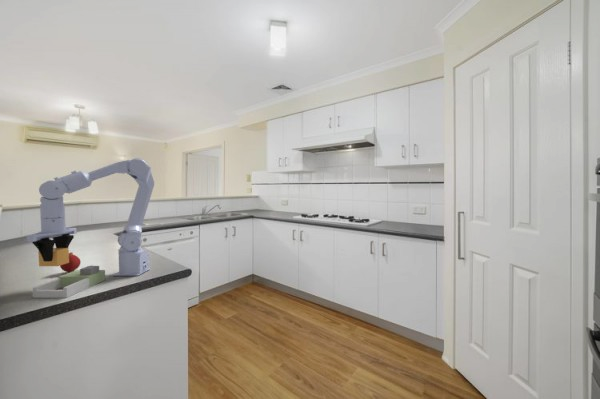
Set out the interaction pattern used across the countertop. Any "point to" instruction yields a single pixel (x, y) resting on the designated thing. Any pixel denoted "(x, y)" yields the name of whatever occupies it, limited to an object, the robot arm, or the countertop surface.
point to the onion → (71, 263)
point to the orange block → (56, 257)
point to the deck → (70, 283)
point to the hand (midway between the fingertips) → (54, 259)
